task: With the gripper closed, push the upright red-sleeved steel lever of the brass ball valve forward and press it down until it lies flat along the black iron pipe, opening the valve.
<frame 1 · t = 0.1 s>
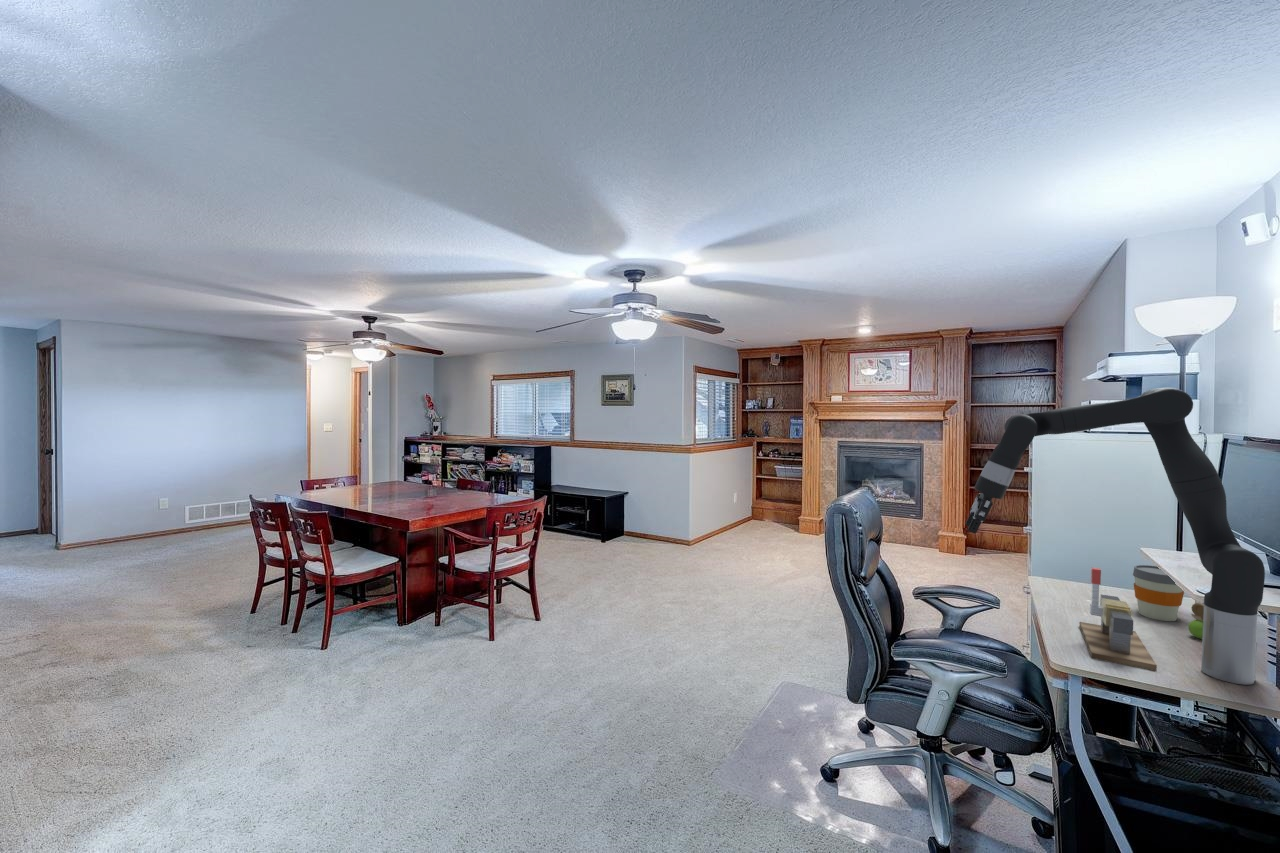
hand: (970, 529, 164), 31 cm above the table, tool tilted 20°, fingers open, 8 cm apart
snail figurine: (1203, 639, 162), on the table
reusable coffee cup: (1157, 616, 181), on the table
base board: (1114, 646, 156), on the table
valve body: (1115, 622, 156), on the base board, point 7 cm above the table
valve lever: (1097, 591, 158), point 15 cm above the table, hinge at 0.0°
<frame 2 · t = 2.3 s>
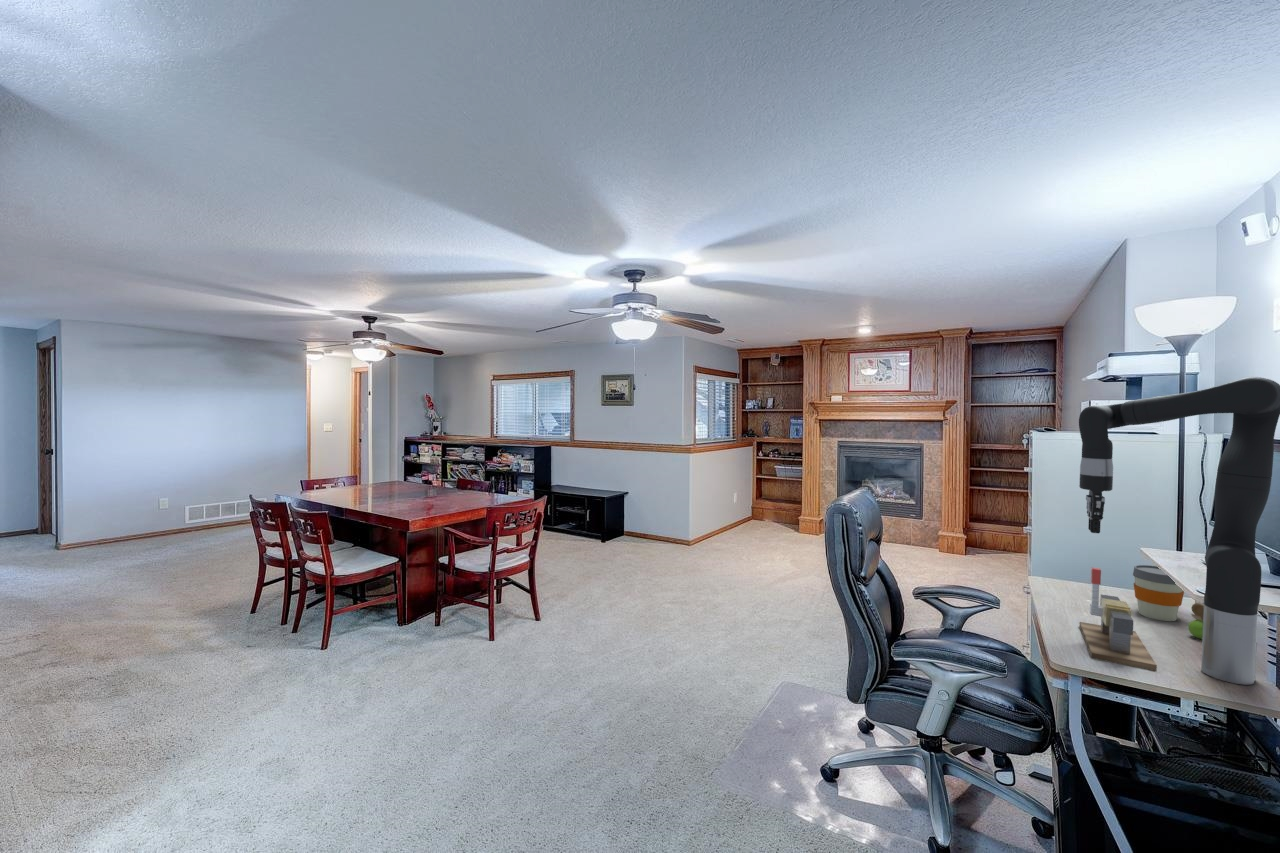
hand: (1094, 531, 163), 31 cm above the table, tool pointing down, fingers open, 3 cm apart
nothing on the table moved.
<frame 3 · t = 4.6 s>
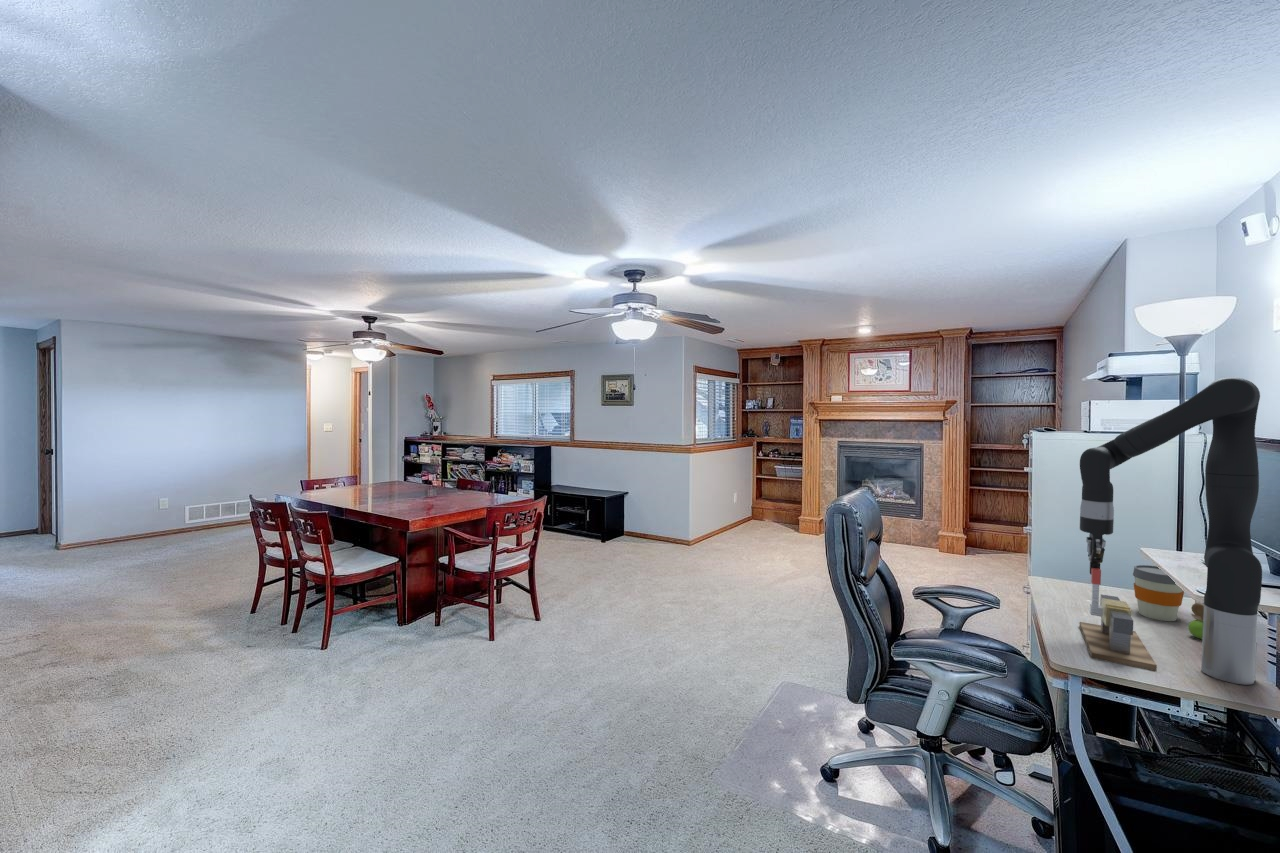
hand: (1094, 575, 161), 19 cm above the table, tool pointing down, fingers closed
valve lever: (1097, 591, 158), point 15 cm above the table, hinge at 0.6°, touching gripper
everything else where it was.
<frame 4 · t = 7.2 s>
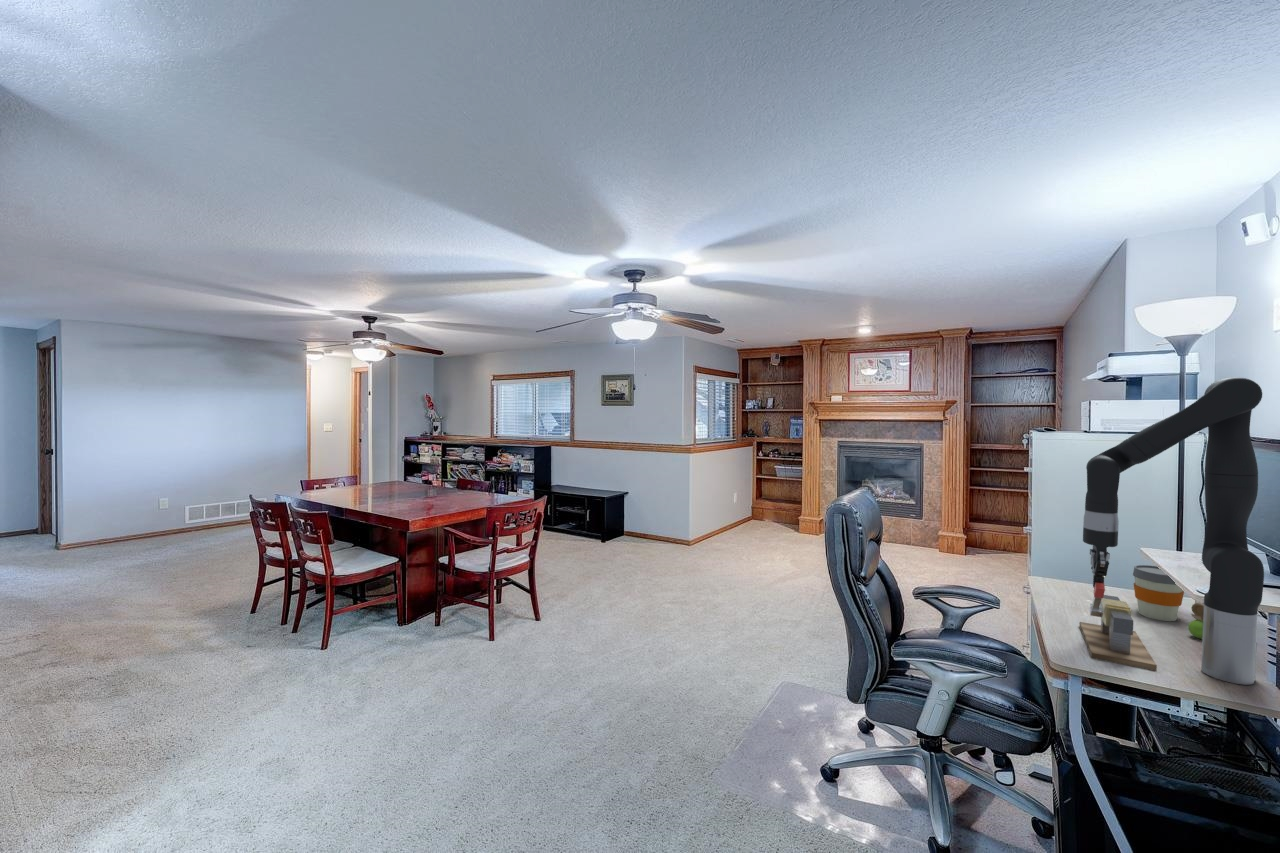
hand: (1098, 588, 155), 17 cm above the table, tool pointing down, fingers closed
valve lever: (1098, 599, 155), point 14 cm above the table, hinge at 40.4°, touching gripper
everything else where it was.
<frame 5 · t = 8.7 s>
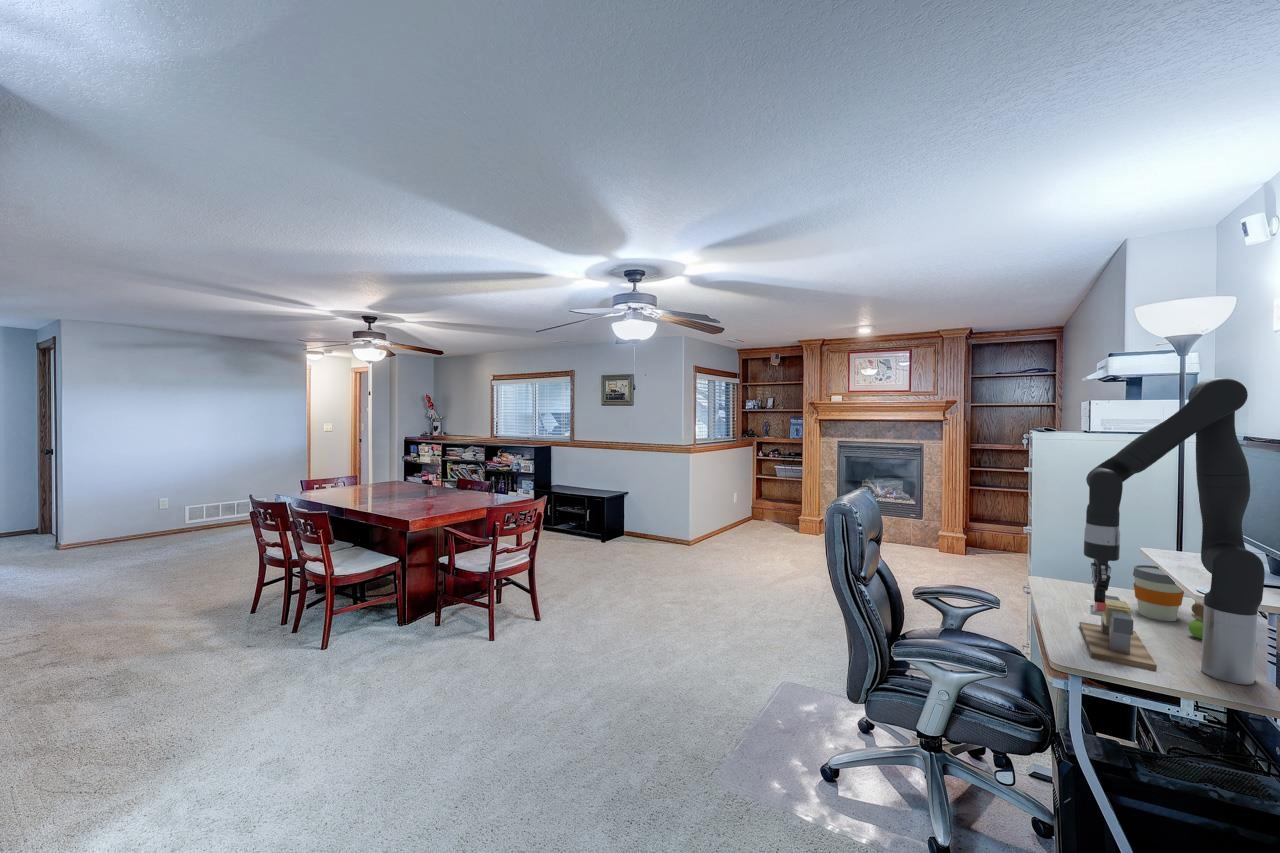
hand: (1099, 603, 152), 14 cm above the table, tool pointing down, fingers closed
valve lever: (1099, 608, 154), point 12 cm above the table, hinge at 67.8°, touching gripper
everything else where it was.
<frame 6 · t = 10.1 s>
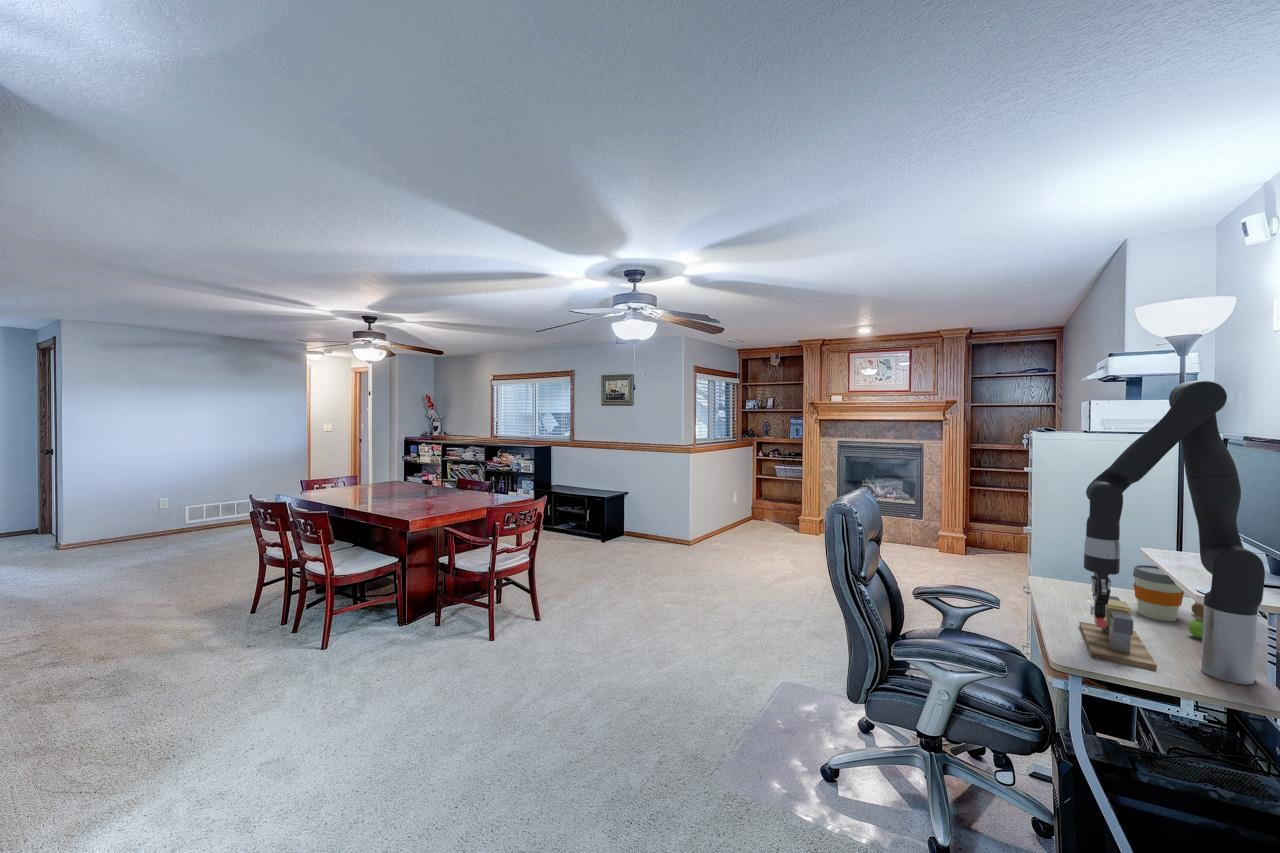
hand: (1099, 616, 152), 10 cm above the table, tool pointing down, fingers closed
valve lever: (1099, 616, 154), point 9 cm above the table, hinge at 90.8°, touching gripper
everything else where it was.
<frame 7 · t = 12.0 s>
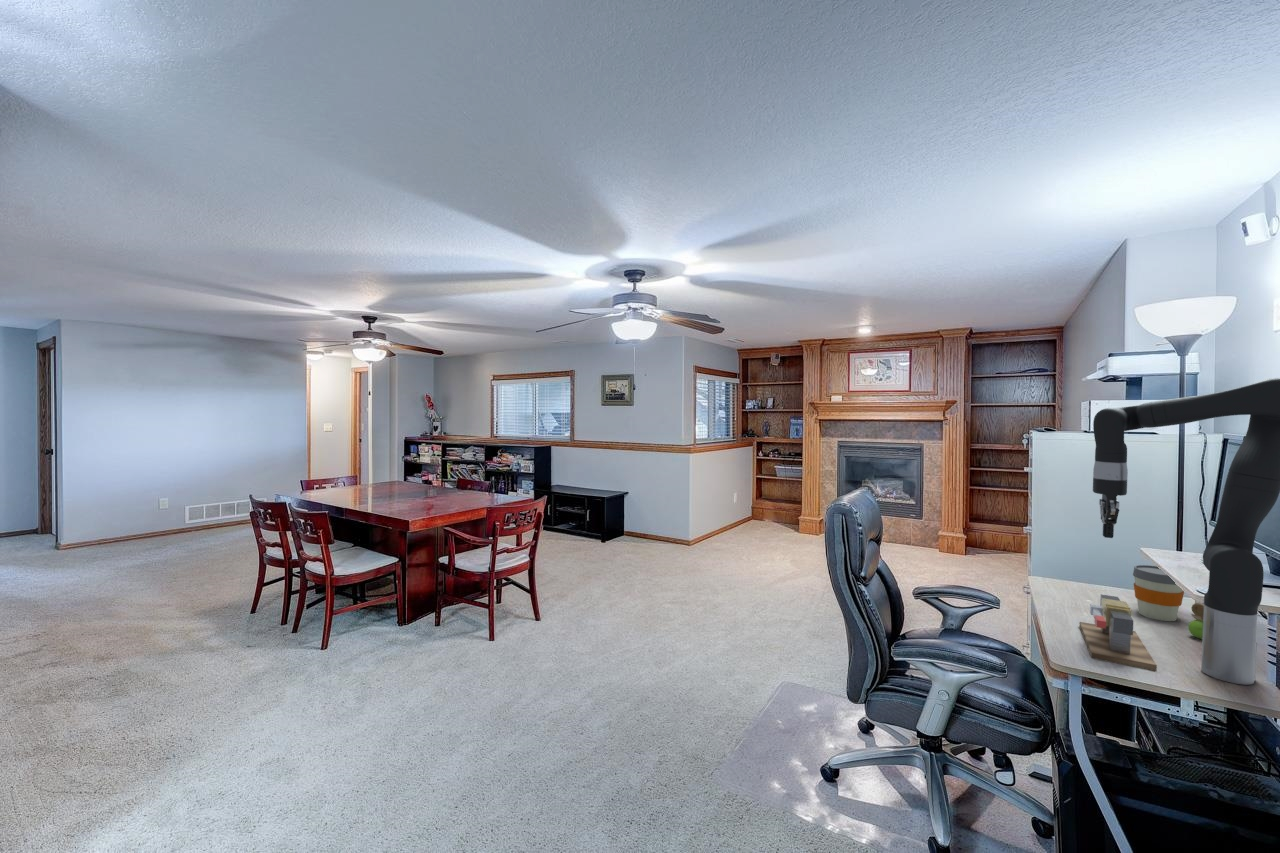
hand: (1107, 537, 159), 30 cm above the table, tool pointing down, fingers closed
valve lever: (1099, 616, 154), point 9 cm above the table, hinge at 90.9°
everything else where it was.
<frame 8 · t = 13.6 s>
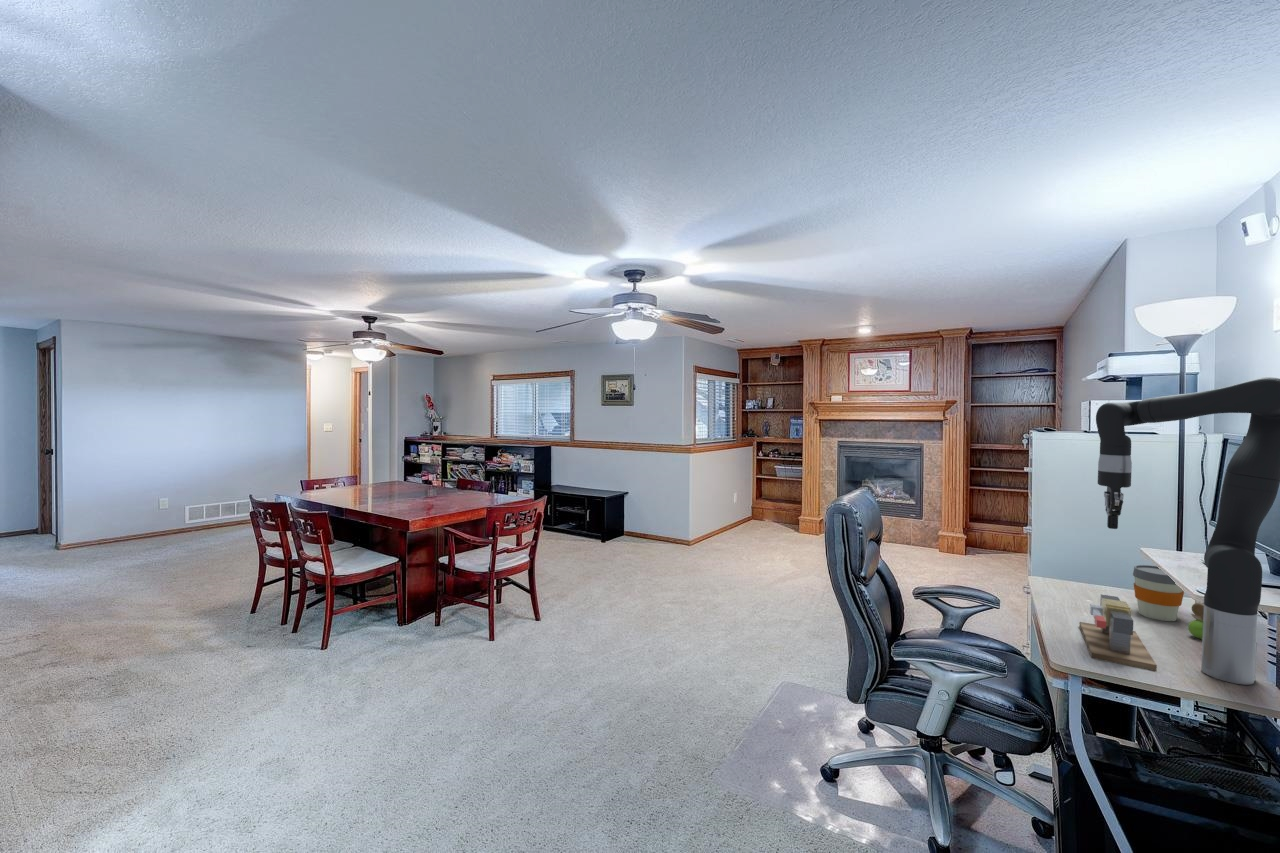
hand: (1112, 528, 164), 32 cm above the table, tool pointing down, fingers closed
nothing on the table moved.
at the end: valve lever at +91° (first picture: +0°) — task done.
